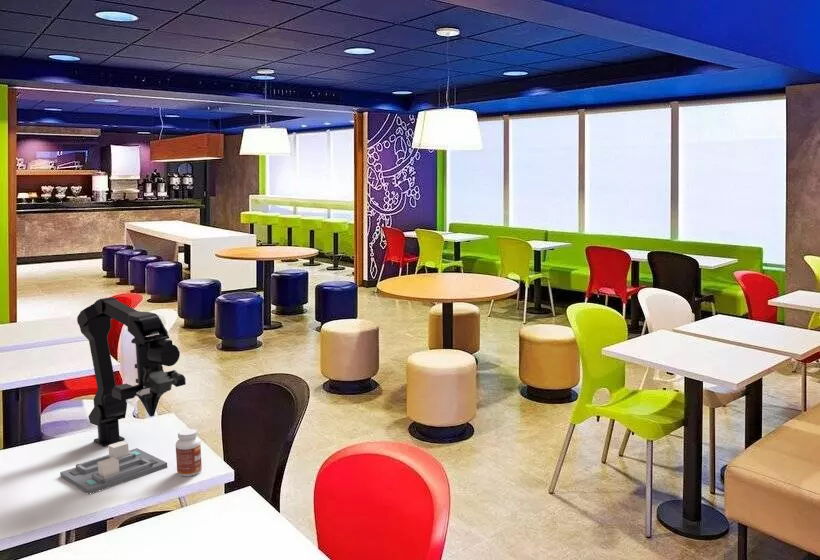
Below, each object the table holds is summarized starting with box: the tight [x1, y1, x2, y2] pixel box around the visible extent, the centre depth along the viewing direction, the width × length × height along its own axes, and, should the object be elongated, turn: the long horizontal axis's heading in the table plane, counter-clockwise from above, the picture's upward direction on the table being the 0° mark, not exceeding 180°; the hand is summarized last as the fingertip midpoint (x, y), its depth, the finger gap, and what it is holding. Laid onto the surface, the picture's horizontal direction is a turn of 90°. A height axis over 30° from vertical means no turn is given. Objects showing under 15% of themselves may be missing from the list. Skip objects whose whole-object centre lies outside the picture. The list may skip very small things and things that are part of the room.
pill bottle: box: [175, 428, 203, 477], centre depth 180 cm, size 6×6×11 cm
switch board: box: [59, 447, 168, 495], centre depth 182 cm, size 16×21×2 cm
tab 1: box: [107, 440, 130, 459], centre depth 187 cm, size 3×4×4 cm
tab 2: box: [98, 457, 120, 478], centre depth 176 cm, size 3×4×4 cm
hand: (151, 416), depth 189 cm, fingers closed
